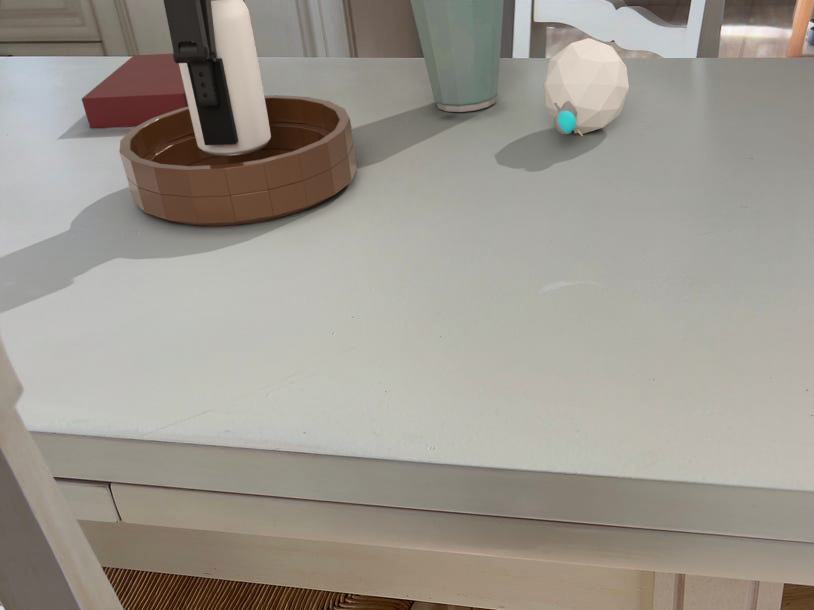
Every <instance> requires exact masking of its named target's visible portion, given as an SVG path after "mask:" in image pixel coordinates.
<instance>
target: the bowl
mask: <svg viewBox="0 0 814 610" xmlns="http://www.w3.org/2000/svg"><path fill="white" fill-rule="evenodd" d="M264 98H265V103H266V109H267V115H268V121H269V127H270V133H271V138H270V140H269V142H268V144H267V145H266V146H265V147H264V148H262V149H260V150H258V151H255V152H252V153H248V154H243V155H237V156H213V155H209V154H206V153H204V152H203V151H202V149H200V148H199V147H198V145H197V141H196V137H195V133H194V128H193V124H192V120H191V115H190V111H189V107H184V108H181V109H177V110H174V111H172V112H169V113H166V114H163V115H160V116H157V117H154V118H152V119H150V120H148V121H146V122H144V123H142V124H140V125H138V126H133V128H131V129H130V131H128V132H127V133H126V134H125V136H123V137H122V138H121V139H120V140H119V155H120V158H121V162H122V167H123V169H124V172H125V176H126V180H127V183H128V187H129V190H130V194H131V197H132V200H133V203H134V204H135V205H136V206H137V207H138V208H140V210H141V211H143V213H146V214H148V215H151V216H154V217H157V218H160V219H163V220H166V221H170V222H173V223H178V224H182V225H191V226H204V227H205V226H207V227H209V226H211V227H214V226H215V227H217V226H218V227H219V226H220V227H221V226H235V225H236V226H237V225H245V224H253V223H259V222H266V221H271V220H275V219H279V218H283V217H287V216H291V215H294V214H297V213H300V212H303V211H306V210H308V209H311V208H313V207H315V206H317V205H319V204H322V203H324V202H326V201H327V200H328V199H330V198H332V197H333V196H335V195H336V194H338V193H339V192H340V191H341V190H343V189H344V188H345V187H347V186H348V185H349V184H350V183H352V181H353V179H354V176H355V173H356V172H357V170H358V166H357V159H356V153H355V145H354V137H353V131H352V130H353V129H352V123H351V122H352V121H351V118H350V116H349V114H348V112H347V111H346V109H345V108H344V107H342V106H339V105H338V104H336V103H333V102H331V101H329V100H325V99H320V98H316V97H310V96H302V95H301V96H300V95H282V94H271V95H264Z"/></svg>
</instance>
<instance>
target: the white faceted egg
mask: <svg viewBox="0 0 814 610" xmlns="http://www.w3.org/2000/svg"><path fill="white" fill-rule="evenodd" d="M542 87H543V95H544V105H545V108H546V109H547V110H548V112H549V113H550V115H551V116H552V117H553V124H554V128H555V130H556V131H557V132H558V133H560V134H562V135H569V134H572V132H574V134H577V133H578V134H579V135H580V136H581V137H584V135H583V134H588V133H590V132H593V131H597V130H599V129H602V128H604V127H606V126H607V125H608V124H609V123H610V122H612V121H613V120H614V119H616V118H617V117H618V116H619V115H621V113H622V110H623V107H624V104H625V100H626V98H627V96H628V91H629V89H630V85H629V77H628V68H627V66H626V64H625V63H624V61H623V60H622V59H621V57H620V56H619V54H618V52H617V51H616V50H615V49H614V47H613V46H612V45H609V44H606V43H603V42H602V41H598V40H596V39H594V38H590V37H587V38H584V39H580V40H577V41H573V42H571V43H570V44H568V45H567V46H566V47H564V48H563V49H561V51H559V52H558V53H557V54H556V55H554V56H553V57H551V58H550V59H549V62H548V67H547V71H546V74H545V78H544V82H543V86H542Z"/></svg>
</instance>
